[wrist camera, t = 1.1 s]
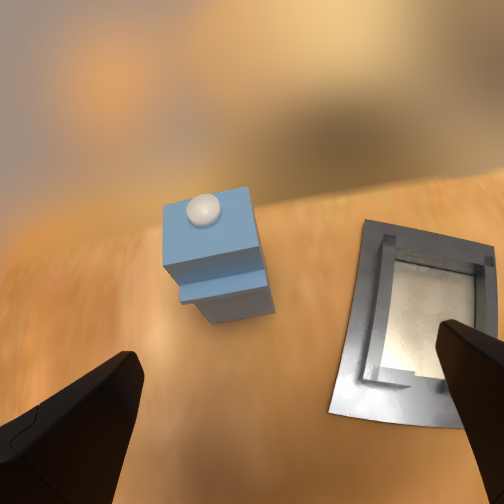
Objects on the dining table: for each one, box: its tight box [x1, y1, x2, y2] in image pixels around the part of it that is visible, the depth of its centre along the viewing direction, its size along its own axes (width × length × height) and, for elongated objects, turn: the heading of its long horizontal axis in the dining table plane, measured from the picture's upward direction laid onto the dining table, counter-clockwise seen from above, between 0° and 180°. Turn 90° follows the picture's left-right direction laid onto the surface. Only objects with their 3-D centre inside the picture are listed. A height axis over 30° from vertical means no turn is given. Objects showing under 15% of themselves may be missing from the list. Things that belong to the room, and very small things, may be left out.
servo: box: [163, 186, 275, 324], centre depth 21 cm, size 6×5×11 cm
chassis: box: [328, 219, 498, 429], centre depth 21 cm, size 16×13×3 cm
